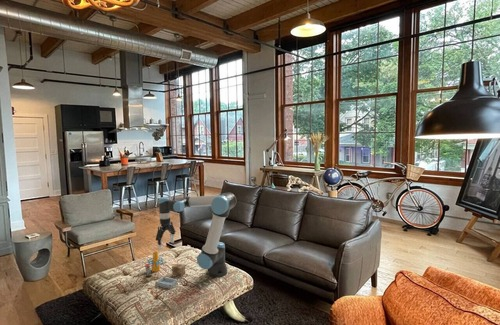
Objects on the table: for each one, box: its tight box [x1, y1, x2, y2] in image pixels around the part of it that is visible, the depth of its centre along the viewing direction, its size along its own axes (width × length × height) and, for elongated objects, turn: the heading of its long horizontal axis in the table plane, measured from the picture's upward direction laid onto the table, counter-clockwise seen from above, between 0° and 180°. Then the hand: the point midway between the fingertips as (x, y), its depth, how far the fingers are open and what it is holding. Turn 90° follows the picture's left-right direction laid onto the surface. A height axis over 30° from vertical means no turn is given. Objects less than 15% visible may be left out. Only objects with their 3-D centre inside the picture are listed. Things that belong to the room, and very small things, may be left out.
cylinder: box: [147, 249, 164, 273], centre depth 225 cm, size 12×10×15 cm
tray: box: [155, 276, 179, 290], centre depth 203 cm, size 12×8×3 cm, turn 68°
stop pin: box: [144, 263, 152, 278], centre depth 210 cm, size 4×4×11 cm
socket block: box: [141, 273, 155, 283], centre depth 211 cm, size 6×6×2 cm
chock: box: [171, 263, 186, 278], centre depth 217 cm, size 8×5×7 cm, turn 68°
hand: (166, 245), depth 220 cm, fingers open, 13 cm apart
